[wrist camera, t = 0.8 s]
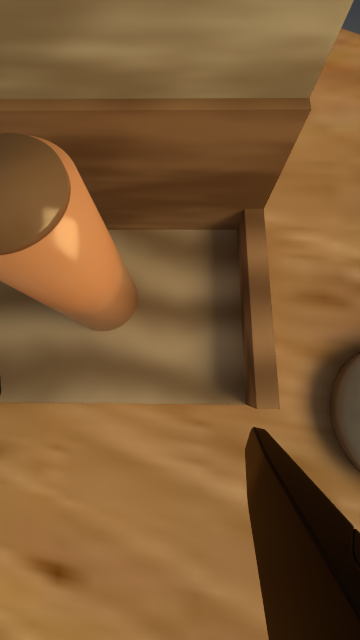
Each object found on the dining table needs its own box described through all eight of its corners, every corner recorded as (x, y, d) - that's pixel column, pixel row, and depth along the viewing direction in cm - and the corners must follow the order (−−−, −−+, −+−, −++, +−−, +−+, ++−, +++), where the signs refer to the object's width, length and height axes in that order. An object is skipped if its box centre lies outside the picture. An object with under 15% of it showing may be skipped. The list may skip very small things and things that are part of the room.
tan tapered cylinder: (108, 344, 22) (-5, 292, 8) (57, 305, 22) (-117, 203, 9) (151, 291, 23) (109, 172, 10) (101, 256, 23) (-1, 102, 10)
